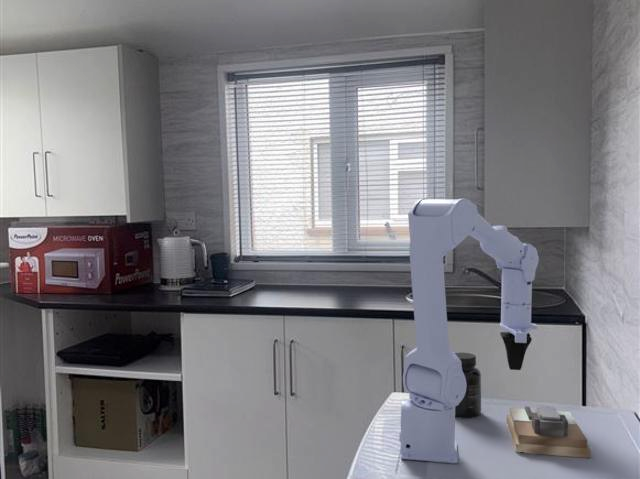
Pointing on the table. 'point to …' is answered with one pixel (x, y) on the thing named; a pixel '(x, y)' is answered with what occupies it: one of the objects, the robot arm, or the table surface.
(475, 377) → the supplement bottle
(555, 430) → the lock board
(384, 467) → the table surface
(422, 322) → the robot arm
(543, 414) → the bolt
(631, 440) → the table surface
